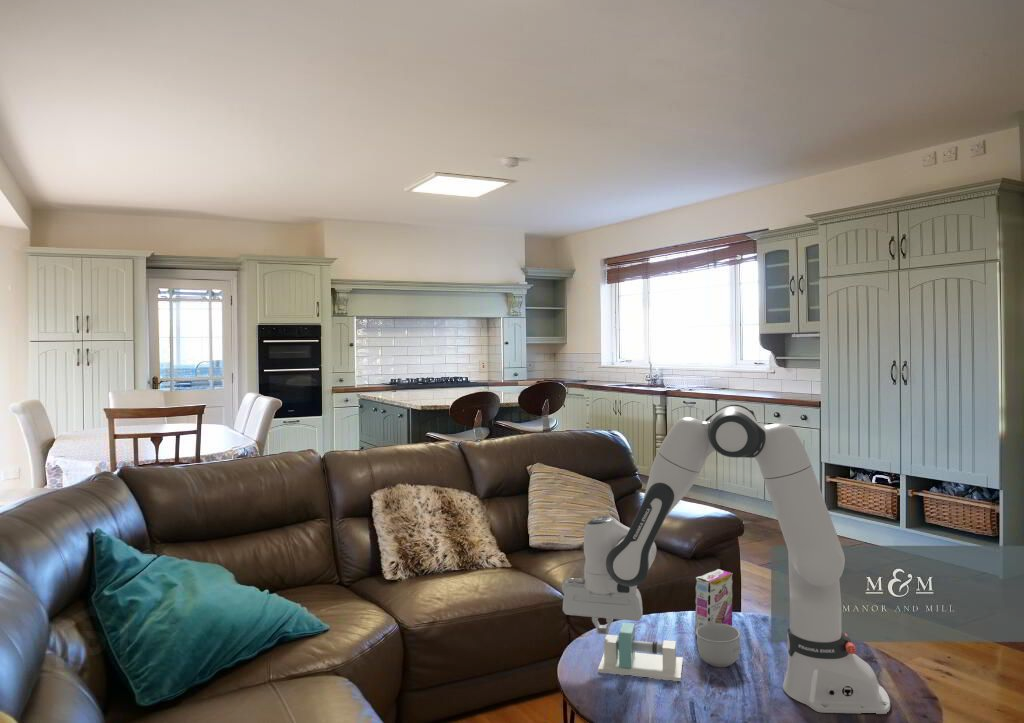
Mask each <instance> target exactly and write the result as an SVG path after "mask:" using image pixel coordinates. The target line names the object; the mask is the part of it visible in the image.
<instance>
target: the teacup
mask: <svg viewBox="0 0 1024 723" xmlns="http://www.w3.org/2000/svg"><path fill="white" fill-rule="evenodd" d="M695 636H696V643H697V645H696V646H697V650H698V651H697V652H698V655H699V657H700V658H701V659H702V660H703V661H704V662H706V664H709V665H710V666H711V667H717V668H726V667H729V666H731V665H733V664H734V663H735V662H737V661H738V660H739V657H740V655H741V632H740V630H739V629H738V628H737V627H735V626H733V625H732V626H730V625H727V624H720V623H714V622H713V621H708V622H707V624H706V625H702V626H700V627H699V628H698V629H697V630H696V635H695Z"/></svg>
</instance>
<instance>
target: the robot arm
mask: <svg viewBox="0 0 1024 723" xmlns="http://www.w3.org/2000/svg"><path fill="white" fill-rule="evenodd" d="M714 452H716V453H718V454H720V455H721V456H723V457H727V458H736V459H737V458H745V459H746V458H750V459H755V460H756V462H757V464H758V467H759V469H760V472H761V475H762V478H763V481H764V483H765V486H766V489H767V492H768V495H769V498H770V500H771V503H772V507H773V509H774V512H775V516H776V518H777V522H778V525H779V528H780V530H781V533H782V536H783V540H784V543H785V545H786V548H787V553H788V555H787V556H788V560H787V561H788V580H789V581H788V582H789V584H788V586H789V627H788V628H787V638H786V639H787V652H788V660H787V661H788V662H787V668H786V673H785V677H784V680H783V683H782V689H783V691H784V692H785V694H786V695H787V696H789V697H790V698H792V699H794V701H797V702H800V703H802V704H803V705H806V706H807V707H809V708H811V709H812V710H814V711H815V712H818V713H829V714H831V713H832V714H834V713H835V714H861V713H876V714H875V715H886V714H887V712H888V713H889V711H890V710H891V700H890V697H889V695H888V692H887V691H886V689H885V688H884V687H883V686H881V684H880V683H879V682H878V679H877V675H876V674H875V672H874V670H873V668H872V667H871V665H870V664H868V663H867V662H866V661H864V660H863V659H862V658H861V657H860V656H858V655H857V654H855V653H856V652H857V648H856V645H855V644H854V643H852V640H851V638H850V637H848V634H847V633H846V632H844V633H843V632H842V596H841V584H840V578H841V577H842V575H843V572H844V568H845V565H846V563H845V562H846V557H845V553H844V549H843V547H842V545H841V542H840V539H839V536H838V534H837V532H836V529H835V526H834V522H833V520H832V518H831V515H830V512H829V509H828V507H827V504H826V501H825V499H824V496H823V493H822V491H821V488H820V485H819V483H818V479H817V477H816V474H815V471H814V469H813V465H812V463H811V460H810V458H809V455H808V452H807V451H806V449H805V446H804V444H803V441H801V439H800V437H799V435H798V434H797V432H796V430H795V429H794V428H793V427H792V426H790V425H788V424H787V423H780V422H777V423H775V422H774V423H770V424H768V425H767V424H765V425H764V424H762V423H760V422H758V419H757V418H756V416H755V414H754V412H752V410H751V409H749V408H747V407H745V406H743V405H740V404H729V405H726V406H723V407H721V408H720V409H718V410H717V411H715V412H714V413H713V414H711V415H709V416H707V418H705V420H701V419H698V418H696V417H691V416H690V417H689V416H685V417H681V418H679V419H677V421H675V423H674V424H673V425H672V427H671V428H670V430H669V431H668V432H667V434H666V436H665V437H664V439H663V441H662V443H661V444H660V446H659V448H658V450H657V453H656V455H655V457H654V460H653V462H652V465H651V469H650V471H649V475H648V480H647V484H646V487H645V490H644V495H643V499H642V502H641V505H640V506H639V509H638V511H637V513H636V515H635V517H634V518H633V521H632V523H631V525H630V527H628V526H626V525H624V524H623V523H622V522H620V521H619V520H617V519H616V518H615V517H614V516H610V515H602V516H598V517H594V518H592V519H591V520H589V521H588V522H587V523H586V525H585V528H584V535H583V554H584V557H585V561H584V566H583V569H584V573H583V574H584V575H583V576H584V577H583V578H579V577H578V578H573V577H568V578H566V579H564V580H563V581H562V582H561V591H562V593H563V600H562V612H563V613H564V615H567V616H568V615H569V616H577V617H586V618H587V617H588V618H591V622H592V624H593V625H594V626H595V628H596V635H605V636H606V635H610V626H611V625H612V623H613V621H614V620H620V621H621V620H622V621H630V622H631V621H632V622H633V621H634V622H639V621H641V619H642V617H643V610H644V609H643V600H642V594H641V592H640V590H639V589H638V588H637V587H638V586H639V585H641V584H642V583H643V582H644V581H645V580H646V578H647V576H648V573H649V570H650V568H651V566H652V564H653V562H654V561H655V559H656V556H657V553H658V548H657V543H656V541H655V540H656V538H657V536H658V534H659V532H660V530H661V528H662V526H663V524H664V522H665V520H666V519H667V517H668V516H669V514H670V513H671V511H673V509H674V508H675V507H676V506H677V505H678V504H679V503H680V501H682V499H683V498H684V497H685V496H686V495H687V493H688V492H689V490H691V488H692V487H693V485H694V483H695V482H696V481H697V479H698V477H699V475H700V473H701V472H702V469H703V466H704V464H705V462H706V461H707V459H708V457H709V456H710V455H711V454H712V453H714ZM599 619H605V621H606V625H604V624H600V622H599Z"/></svg>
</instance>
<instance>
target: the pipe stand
mask: <svg viewBox="0 0 1024 723" xmlns="http://www.w3.org/2000/svg"><path fill="white" fill-rule="evenodd" d="M632 651H635V656H634V660H633V664H632V667H631V668H625V667H619V635H616V634H608V635H605V638H604V640H603V654H602V657H601V660H600V663H599V665H598V667H597V668H598V669H597V670H598V671H597V673H599V674H607V673H612V674H611V675H616V674H621V675H620V676H624V675H635V676H643V677H649V678H648V679H651V678H655V679H654V680H660V679H663V680H662V681H668V680H673V681H672V682H677V681H680V682H682V674H683V666H682V665H684V657H681V656H677V641H676V640H666V639H664V640H663V642H658V641H653V642H652V641H642V640H635V641H634V640H632ZM681 673H682V674H681ZM680 682H679V683H680Z"/></svg>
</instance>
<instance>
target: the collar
mask: <svg viewBox="0 0 1024 723" xmlns="http://www.w3.org/2000/svg"><path fill="white" fill-rule="evenodd" d="M635 626H636V625H635V623H633V622H632V623H631V622H622V624H621V627H620V629H619V634H618V639H619V667H625V668H631V667H632V664H633V660H634V656H635V652H636V651H632V640H634V641H636V631H635V629H636V628H635Z"/></svg>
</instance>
